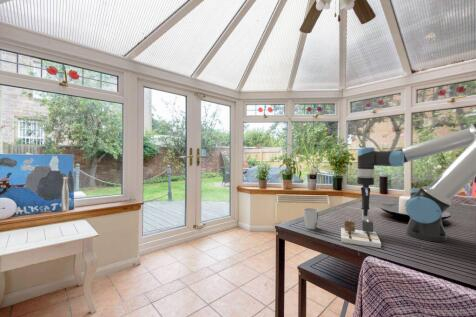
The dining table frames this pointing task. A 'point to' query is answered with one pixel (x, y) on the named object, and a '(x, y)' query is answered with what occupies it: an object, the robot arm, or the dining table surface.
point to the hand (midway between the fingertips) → (365, 221)
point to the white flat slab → (360, 238)
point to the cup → (310, 217)
